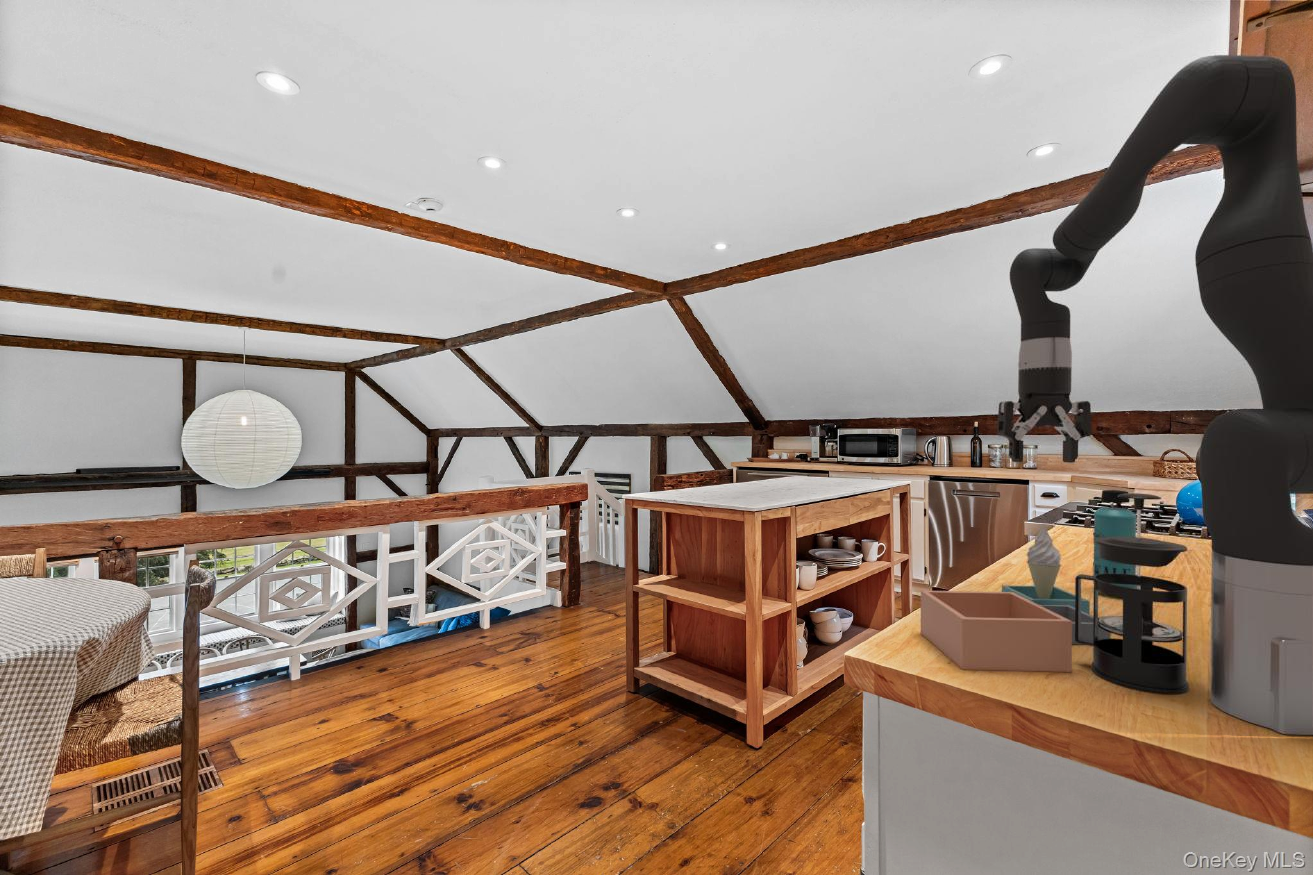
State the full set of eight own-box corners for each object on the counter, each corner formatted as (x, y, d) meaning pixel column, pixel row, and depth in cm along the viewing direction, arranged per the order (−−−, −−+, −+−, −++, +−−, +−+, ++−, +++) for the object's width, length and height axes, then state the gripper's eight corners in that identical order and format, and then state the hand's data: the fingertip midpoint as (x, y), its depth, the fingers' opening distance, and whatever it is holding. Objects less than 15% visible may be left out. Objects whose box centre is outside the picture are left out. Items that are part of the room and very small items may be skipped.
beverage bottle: (1120, 592, 111) (1121, 488, 111) (1146, 602, 104) (1146, 492, 104) (1084, 591, 112) (1084, 488, 112) (1107, 601, 105) (1108, 491, 105)
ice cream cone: (1022, 610, 100) (1023, 523, 100) (1030, 604, 104) (1030, 520, 104) (1057, 616, 96) (1058, 526, 96) (1064, 610, 100) (1064, 523, 100)
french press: (1200, 680, 72) (1201, 494, 71) (1192, 704, 65) (1193, 500, 65) (1084, 653, 80) (1085, 487, 80) (1067, 672, 74) (1068, 492, 74)
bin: (1071, 671, 74) (1071, 621, 74) (962, 669, 75) (962, 619, 75) (1012, 635, 88) (1013, 592, 88) (920, 633, 88) (920, 590, 88)
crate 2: (1110, 644, 84) (1110, 624, 84) (1044, 643, 84) (1044, 622, 84) (1069, 624, 93) (1069, 605, 93) (1009, 622, 93) (1009, 604, 93)
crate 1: (1089, 619, 95) (1089, 600, 95) (1031, 617, 96) (1031, 599, 96) (1054, 602, 104) (1054, 586, 104) (1001, 601, 105) (1001, 585, 105)
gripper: (1013, 365, 95) (1012, 463, 96) (1103, 364, 95) (1102, 464, 95) (989, 369, 103) (988, 460, 103) (1073, 369, 102) (1071, 461, 102)
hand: (1043, 462), depth 99 cm, fingers open, 8 cm apart
